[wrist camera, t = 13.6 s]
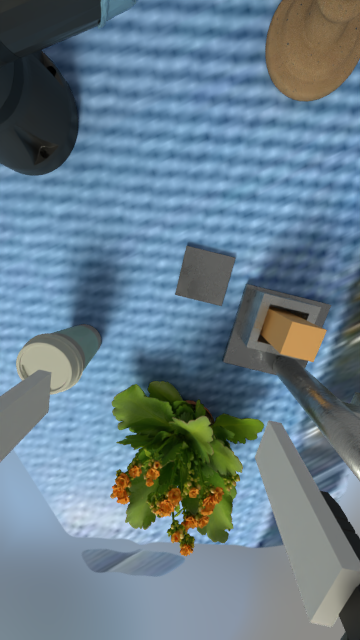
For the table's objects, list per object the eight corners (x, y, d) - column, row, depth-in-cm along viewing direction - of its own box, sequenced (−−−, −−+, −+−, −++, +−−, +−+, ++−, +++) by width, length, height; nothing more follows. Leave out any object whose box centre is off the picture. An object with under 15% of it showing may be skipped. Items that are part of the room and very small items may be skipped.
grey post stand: (246, 283, 37) (321, 309, 16) (357, 311, 37) (580, 373, 16) (222, 359, 40) (257, 465, 19) (324, 384, 41) (472, 516, 19)
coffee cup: (56, 322, 40) (1, 345, 29) (100, 312, 39) (63, 332, 28) (71, 365, 42) (26, 403, 31) (114, 356, 41) (84, 392, 30)
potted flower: (252, 361, 40) (298, 431, 23) (259, 468, 46) (300, 587, 29) (118, 375, 42) (69, 449, 25) (140, 476, 48) (112, 592, 31)
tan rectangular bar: (260, 303, 37) (292, 321, 25) (283, 309, 37) (326, 330, 25) (252, 326, 38) (280, 353, 26) (275, 332, 38) (313, 362, 26)
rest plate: (186, 246, 36) (186, 245, 36) (234, 258, 36) (235, 257, 36) (175, 294, 38) (175, 294, 37) (220, 305, 38) (221, 306, 38)
